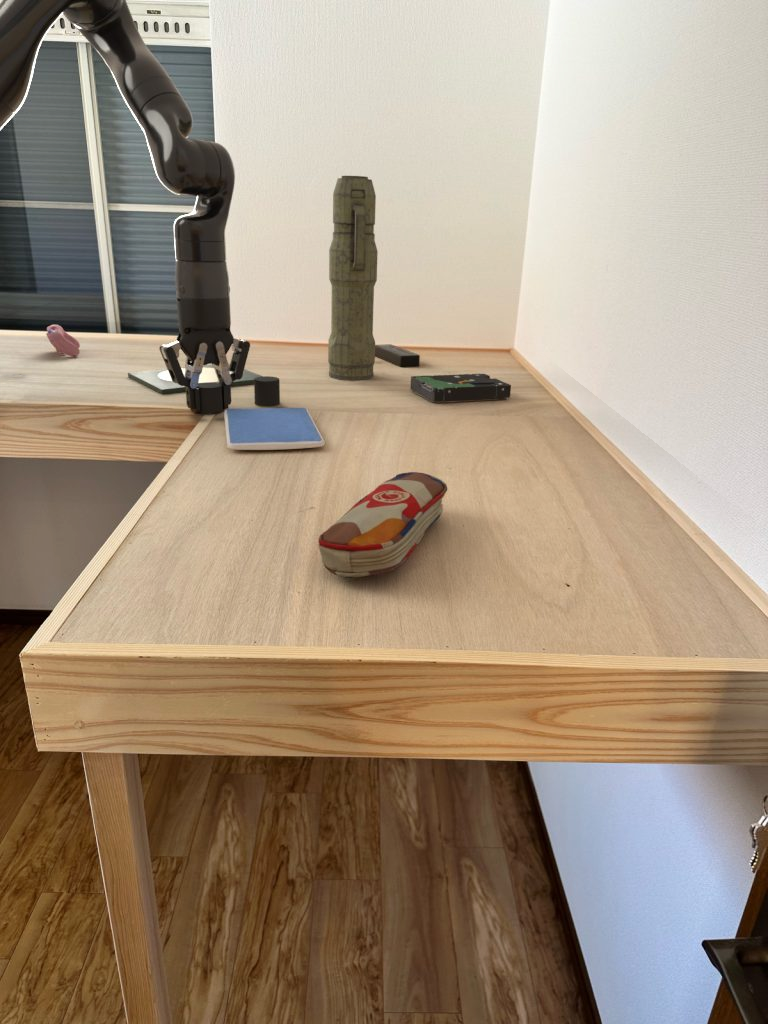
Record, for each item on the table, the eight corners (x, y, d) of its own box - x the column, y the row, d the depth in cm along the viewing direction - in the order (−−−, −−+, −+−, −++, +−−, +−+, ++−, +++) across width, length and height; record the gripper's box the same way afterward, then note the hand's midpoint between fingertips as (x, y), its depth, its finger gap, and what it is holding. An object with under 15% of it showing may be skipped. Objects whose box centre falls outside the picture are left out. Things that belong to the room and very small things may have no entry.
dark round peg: (203, 415, 109) (201, 388, 107) (192, 409, 112) (190, 383, 110) (227, 412, 111) (226, 386, 110) (216, 406, 114) (214, 381, 113)
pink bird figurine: (62, 356, 156) (42, 326, 153) (81, 346, 157) (62, 316, 153) (61, 364, 148) (39, 333, 144) (81, 354, 148) (60, 323, 145)
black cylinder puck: (262, 407, 115) (261, 382, 113) (250, 402, 118) (249, 377, 116) (284, 404, 117) (284, 379, 115) (272, 399, 120) (271, 375, 118)
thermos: (338, 382, 134) (341, 173, 121) (320, 370, 144) (321, 176, 131) (383, 380, 137) (390, 176, 124) (362, 369, 147) (367, 179, 134)
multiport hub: (401, 367, 150) (401, 355, 150) (372, 355, 162) (373, 344, 162) (420, 366, 152) (420, 355, 151) (390, 354, 164) (390, 344, 163)
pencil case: (275, 563, 63) (273, 510, 61) (396, 500, 79) (398, 456, 77) (379, 601, 58) (381, 543, 56) (488, 525, 73) (493, 478, 71)
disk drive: (482, 388, 135) (408, 390, 130) (483, 373, 134) (409, 375, 128) (510, 400, 126) (433, 404, 121) (512, 384, 125) (434, 387, 120)
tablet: (224, 415, 109) (223, 407, 109) (307, 413, 112) (307, 405, 111) (227, 454, 92) (226, 444, 91) (326, 451, 94) (326, 441, 94)
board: (161, 394, 121) (161, 388, 120) (128, 376, 132) (127, 372, 132) (268, 382, 132) (268, 377, 132) (228, 367, 144) (228, 362, 143)
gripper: (235, 290, 112) (240, 399, 118) (145, 292, 104) (155, 410, 110) (259, 294, 106) (262, 409, 113) (165, 297, 98) (174, 421, 105)
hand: (209, 409), depth 111 cm, fingers closed on dark round peg, 4 cm apart
